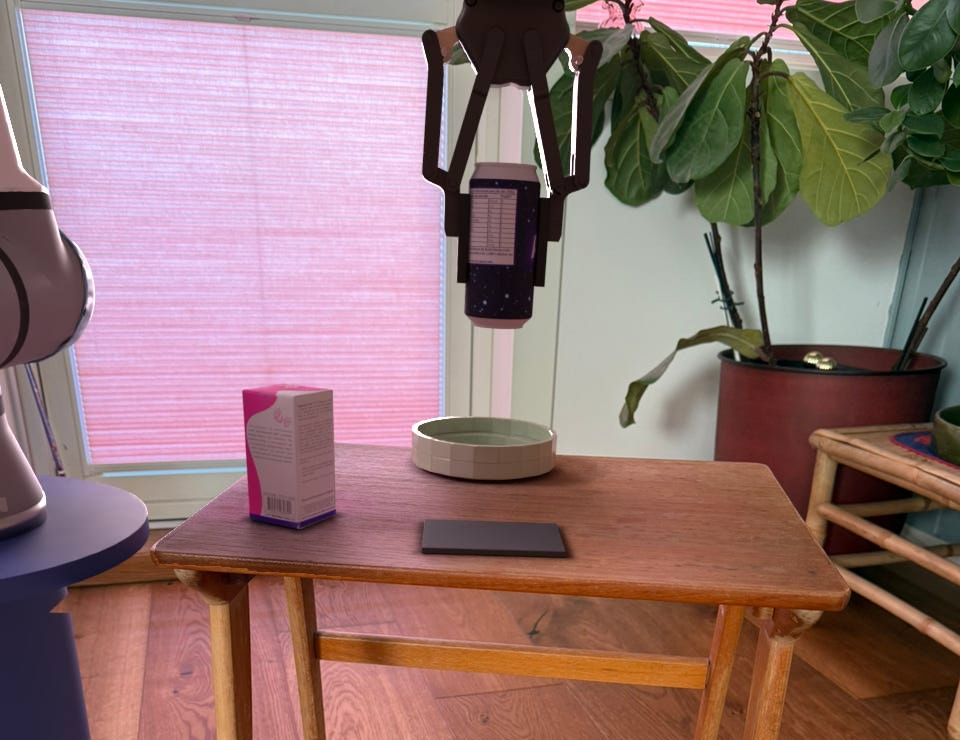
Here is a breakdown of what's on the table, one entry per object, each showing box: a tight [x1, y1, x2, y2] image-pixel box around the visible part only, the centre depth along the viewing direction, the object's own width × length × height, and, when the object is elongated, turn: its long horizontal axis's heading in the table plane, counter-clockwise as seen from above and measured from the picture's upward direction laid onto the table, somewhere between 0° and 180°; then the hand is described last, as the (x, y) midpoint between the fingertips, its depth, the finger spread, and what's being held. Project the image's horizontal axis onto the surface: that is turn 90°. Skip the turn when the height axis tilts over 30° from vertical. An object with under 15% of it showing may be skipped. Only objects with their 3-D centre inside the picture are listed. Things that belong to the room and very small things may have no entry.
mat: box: [421, 518, 567, 558], centre depth 79 cm, size 12×8×1 cm, turn 92°
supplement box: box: [241, 383, 337, 530], centre depth 81 cm, size 6×6×12 cm
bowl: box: [411, 415, 558, 481], centre depth 103 cm, size 16×16×4 cm
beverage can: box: [463, 161, 542, 330], centre depth 73 cm, size 6×6×12 cm
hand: (499, 283), depth 74 cm, fingers closed on beverage can, 6 cm apart
